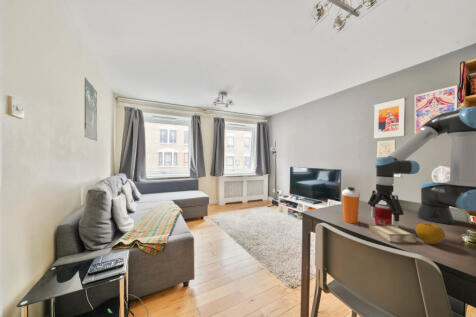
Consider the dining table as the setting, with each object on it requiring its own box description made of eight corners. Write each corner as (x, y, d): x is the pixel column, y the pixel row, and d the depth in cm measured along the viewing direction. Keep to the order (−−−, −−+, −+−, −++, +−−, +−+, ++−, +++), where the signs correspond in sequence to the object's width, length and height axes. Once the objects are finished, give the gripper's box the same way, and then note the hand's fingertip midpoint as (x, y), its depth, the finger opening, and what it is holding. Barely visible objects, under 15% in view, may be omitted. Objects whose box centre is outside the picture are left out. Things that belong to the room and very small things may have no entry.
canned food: (396, 228, 93) (397, 208, 92) (379, 227, 94) (380, 207, 94) (387, 223, 100) (387, 204, 100) (372, 222, 102) (372, 203, 102)
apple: (439, 250, 71) (439, 228, 71) (410, 240, 80) (411, 221, 79) (448, 246, 75) (449, 225, 75) (420, 237, 83) (420, 218, 83)
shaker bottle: (343, 222, 100) (343, 188, 100) (340, 217, 109) (340, 186, 108) (361, 225, 97) (362, 189, 97) (357, 219, 105) (357, 187, 105)
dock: (391, 230, 90) (391, 224, 90) (415, 242, 78) (416, 234, 78) (369, 230, 90) (369, 224, 90) (390, 242, 78) (390, 235, 78)
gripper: (361, 180, 109) (360, 214, 109) (399, 188, 84) (398, 231, 85) (373, 181, 109) (372, 214, 110) (414, 188, 84) (413, 231, 85)
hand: (383, 221), depth 97 cm, fingers open, 13 cm apart
